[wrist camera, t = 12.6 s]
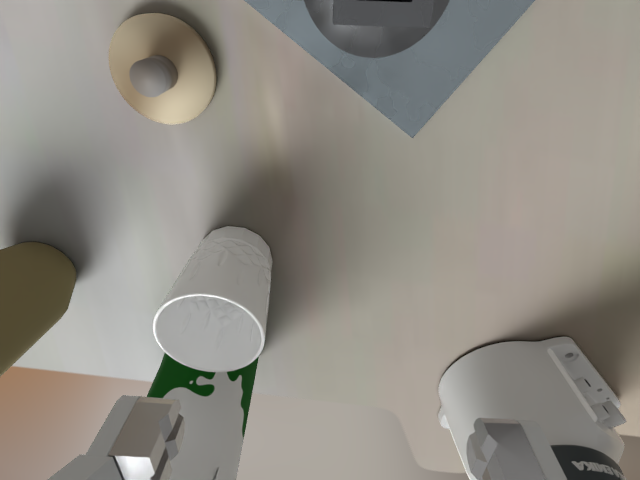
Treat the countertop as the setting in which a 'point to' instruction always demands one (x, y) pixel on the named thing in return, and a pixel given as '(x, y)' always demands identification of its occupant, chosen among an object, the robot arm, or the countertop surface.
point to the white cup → (218, 303)
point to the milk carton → (207, 417)
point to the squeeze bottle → (31, 296)
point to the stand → (162, 68)
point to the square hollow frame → (383, 13)
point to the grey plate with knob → (399, 50)
